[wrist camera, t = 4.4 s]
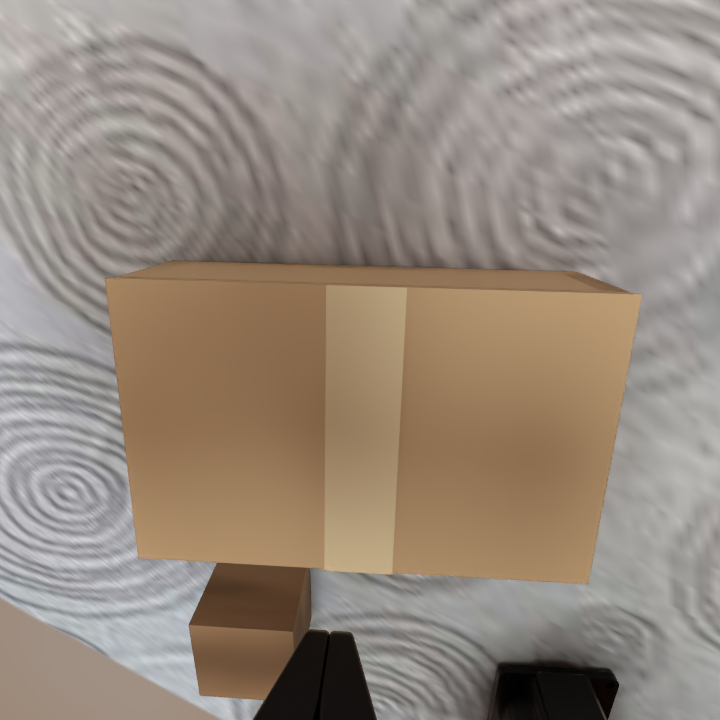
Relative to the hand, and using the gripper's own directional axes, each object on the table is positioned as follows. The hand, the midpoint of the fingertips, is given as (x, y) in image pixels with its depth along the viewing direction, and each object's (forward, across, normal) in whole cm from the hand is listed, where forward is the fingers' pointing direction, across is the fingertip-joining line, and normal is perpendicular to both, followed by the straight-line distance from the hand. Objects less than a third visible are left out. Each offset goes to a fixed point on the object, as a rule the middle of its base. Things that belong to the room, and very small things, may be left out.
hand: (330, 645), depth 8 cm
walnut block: (+12, +5, +12) cm, 17 cm away
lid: (+7, 0, 0) cm, 7 cm away
